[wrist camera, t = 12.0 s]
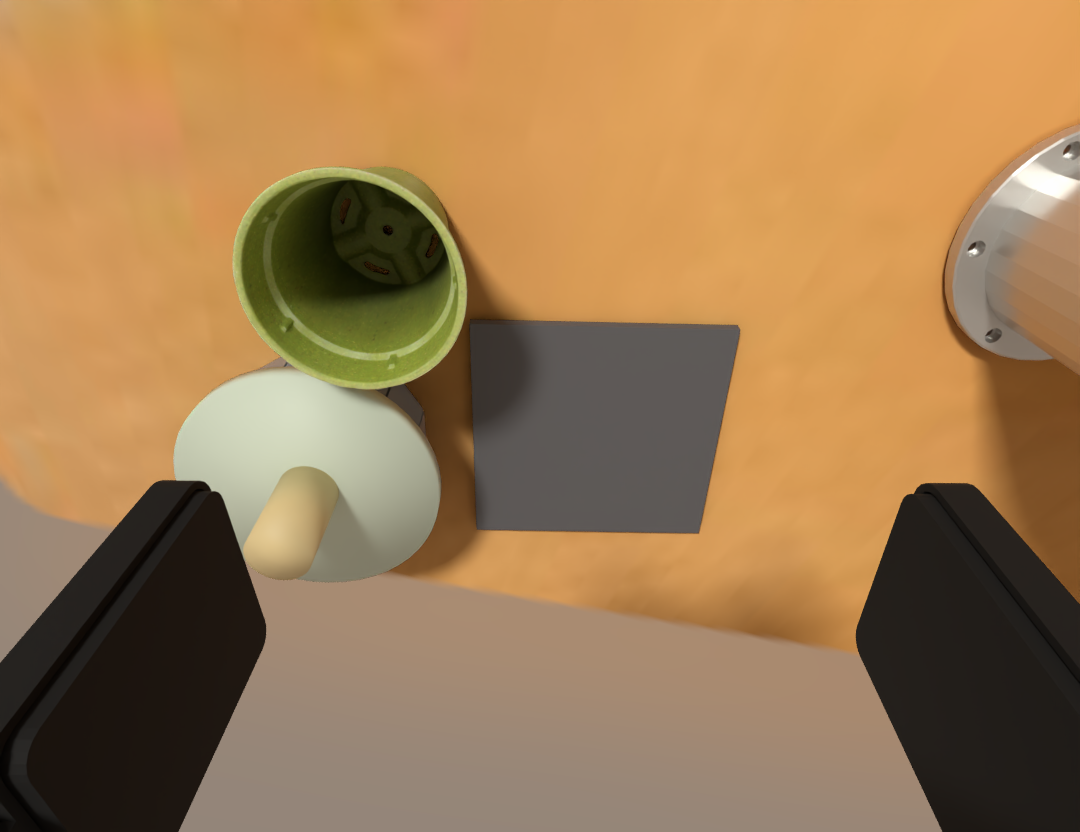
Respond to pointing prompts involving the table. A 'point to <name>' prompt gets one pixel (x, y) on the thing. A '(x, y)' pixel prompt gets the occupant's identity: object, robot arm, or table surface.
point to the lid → (313, 474)
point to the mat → (596, 423)
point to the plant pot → (351, 275)
